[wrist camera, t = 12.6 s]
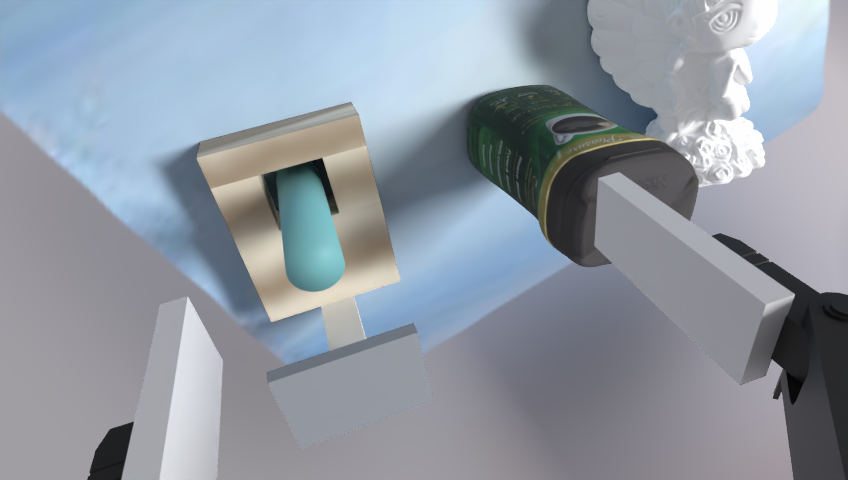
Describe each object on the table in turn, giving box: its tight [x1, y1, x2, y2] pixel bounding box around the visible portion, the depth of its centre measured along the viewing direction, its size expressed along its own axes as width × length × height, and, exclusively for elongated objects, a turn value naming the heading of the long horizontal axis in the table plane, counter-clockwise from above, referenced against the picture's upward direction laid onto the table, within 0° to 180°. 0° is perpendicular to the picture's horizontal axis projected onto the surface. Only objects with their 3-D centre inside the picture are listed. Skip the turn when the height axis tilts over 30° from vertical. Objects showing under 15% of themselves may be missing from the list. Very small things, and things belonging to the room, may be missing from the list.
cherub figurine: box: [587, 0, 777, 187], centre depth 41 cm, size 13×12×20 cm
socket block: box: [197, 102, 401, 322], centre depth 43 cm, size 16×12×4 cm
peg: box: [276, 161, 345, 292], centre depth 37 cm, size 4×4×14 cm
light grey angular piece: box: [267, 296, 434, 449], centre depth 41 cm, size 7×10×16 cm
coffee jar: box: [467, 85, 699, 267], centre depth 39 cm, size 10×8×19 cm
